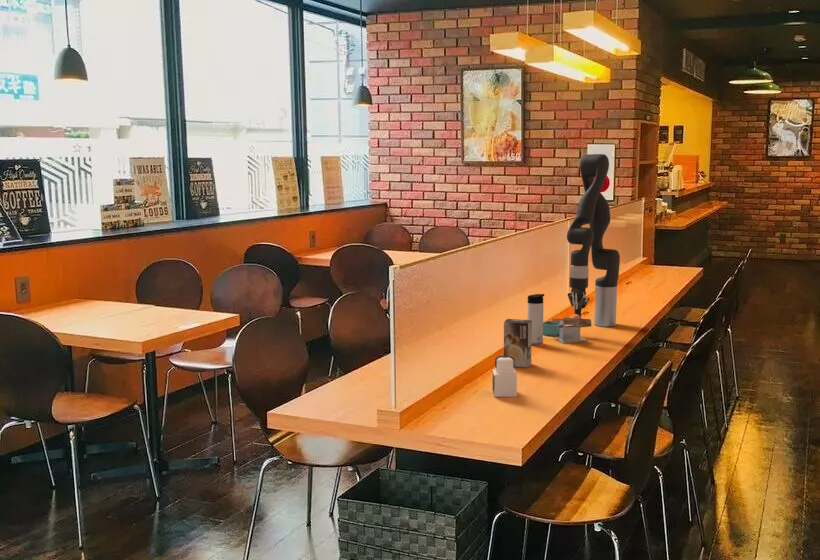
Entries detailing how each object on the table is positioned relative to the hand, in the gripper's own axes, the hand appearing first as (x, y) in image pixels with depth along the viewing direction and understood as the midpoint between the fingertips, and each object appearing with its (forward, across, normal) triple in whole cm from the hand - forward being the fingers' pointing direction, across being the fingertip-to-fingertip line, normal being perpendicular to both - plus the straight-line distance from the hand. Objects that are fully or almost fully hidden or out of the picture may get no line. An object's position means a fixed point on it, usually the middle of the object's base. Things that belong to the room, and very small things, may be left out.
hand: (577, 317), depth 351 cm
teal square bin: (+8, -6, -8) cm, 13 cm away
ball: (-3, +11, -8) cm, 14 cm away
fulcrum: (+7, +8, -8) cm, 13 cm away
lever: (+1, +8, -5) cm, 9 cm away
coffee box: (+8, +32, -46) cm, 56 cm away
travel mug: (+8, +6, -24) cm, 26 cm away
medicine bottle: (+8, +62, -68) cm, 92 cm away
